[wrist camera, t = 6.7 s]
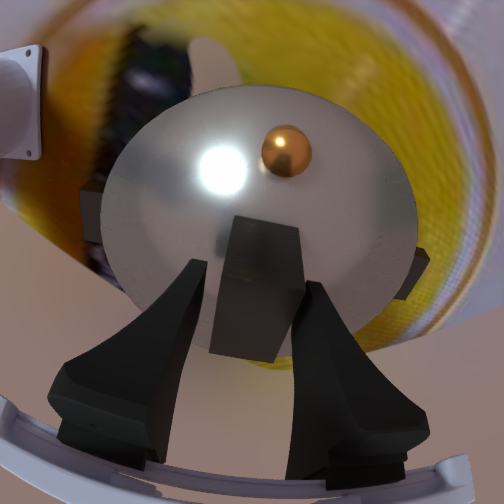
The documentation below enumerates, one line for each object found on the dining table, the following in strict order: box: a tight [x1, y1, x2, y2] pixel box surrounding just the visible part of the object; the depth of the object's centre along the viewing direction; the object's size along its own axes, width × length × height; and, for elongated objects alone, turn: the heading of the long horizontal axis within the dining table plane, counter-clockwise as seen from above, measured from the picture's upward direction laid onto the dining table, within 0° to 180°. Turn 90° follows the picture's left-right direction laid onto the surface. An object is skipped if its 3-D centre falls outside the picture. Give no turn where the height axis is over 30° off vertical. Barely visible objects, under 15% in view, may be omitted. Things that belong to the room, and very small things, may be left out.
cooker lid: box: [100, 84, 418, 363], centre depth 12 cm, size 14×14×4 cm
